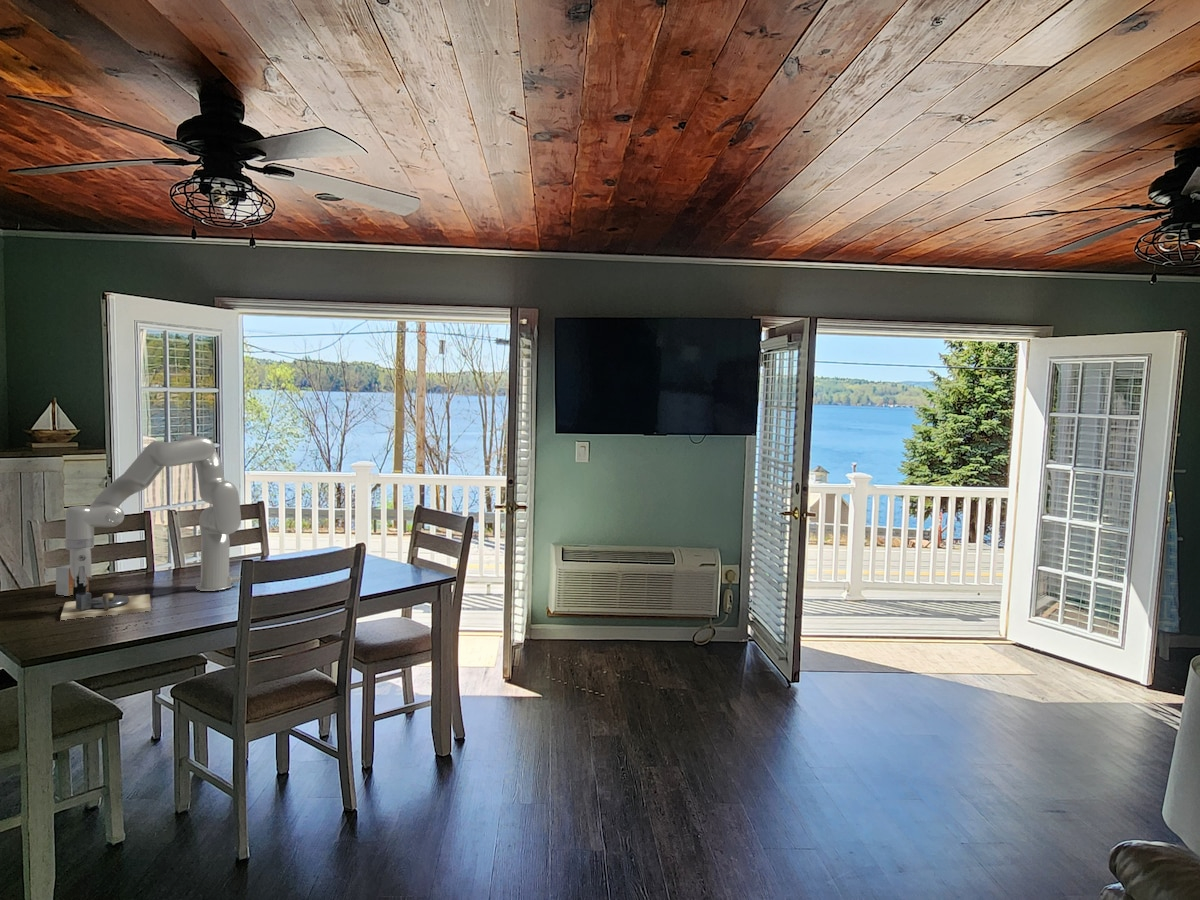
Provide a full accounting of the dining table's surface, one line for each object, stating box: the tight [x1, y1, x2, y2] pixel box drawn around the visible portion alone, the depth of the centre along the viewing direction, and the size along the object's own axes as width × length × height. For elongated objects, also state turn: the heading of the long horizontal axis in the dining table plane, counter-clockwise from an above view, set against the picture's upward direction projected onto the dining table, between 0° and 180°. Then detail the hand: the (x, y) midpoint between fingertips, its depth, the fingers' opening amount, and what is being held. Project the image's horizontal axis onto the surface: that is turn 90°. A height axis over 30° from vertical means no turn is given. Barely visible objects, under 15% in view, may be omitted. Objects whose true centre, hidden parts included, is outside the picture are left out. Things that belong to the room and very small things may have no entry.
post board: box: [60, 592, 152, 621], centre depth 232 cm, size 24×18×6 cm
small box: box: [55, 564, 90, 597], centre depth 247 cm, size 8×6×10 cm
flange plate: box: [75, 591, 129, 610], centre depth 230 cm, size 15×12×5 cm
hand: (79, 598), depth 227 cm, fingers closed
